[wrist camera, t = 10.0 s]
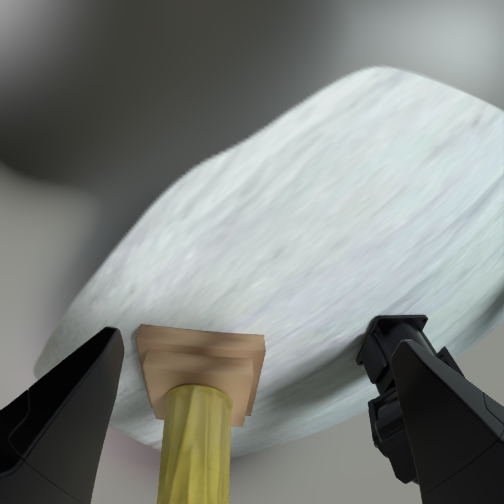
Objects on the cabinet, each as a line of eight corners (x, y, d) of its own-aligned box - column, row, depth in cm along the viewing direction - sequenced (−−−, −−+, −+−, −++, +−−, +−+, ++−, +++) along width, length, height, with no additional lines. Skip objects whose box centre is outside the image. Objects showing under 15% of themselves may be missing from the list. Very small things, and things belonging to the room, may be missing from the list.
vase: (172, 375, 22) (151, 541, 9) (242, 391, 23) (250, 549, 10) (161, 408, 24) (144, 542, 12) (221, 422, 26) (221, 551, 13)
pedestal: (263, 335, 25) (267, 369, 22) (249, 401, 30) (251, 430, 27) (141, 324, 24) (129, 356, 21) (154, 393, 29) (148, 421, 26)
